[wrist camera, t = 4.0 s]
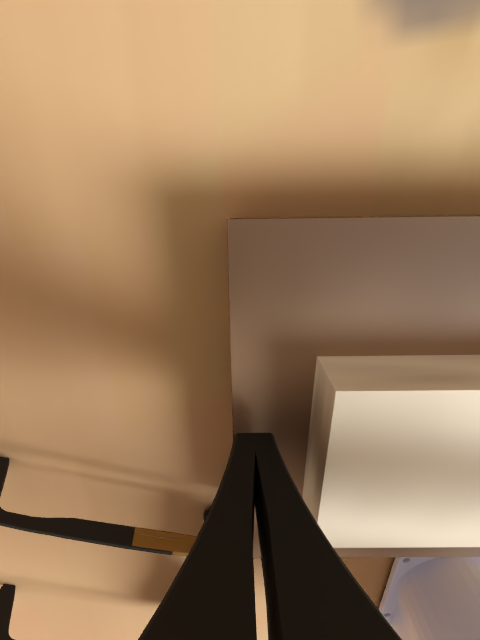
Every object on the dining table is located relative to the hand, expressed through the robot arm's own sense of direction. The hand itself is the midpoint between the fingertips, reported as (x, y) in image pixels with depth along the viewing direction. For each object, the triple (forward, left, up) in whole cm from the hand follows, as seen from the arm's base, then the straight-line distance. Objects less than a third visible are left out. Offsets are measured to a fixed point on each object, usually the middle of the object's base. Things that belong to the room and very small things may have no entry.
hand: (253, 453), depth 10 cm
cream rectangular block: (0, -7, -1) cm, 7 cm away
